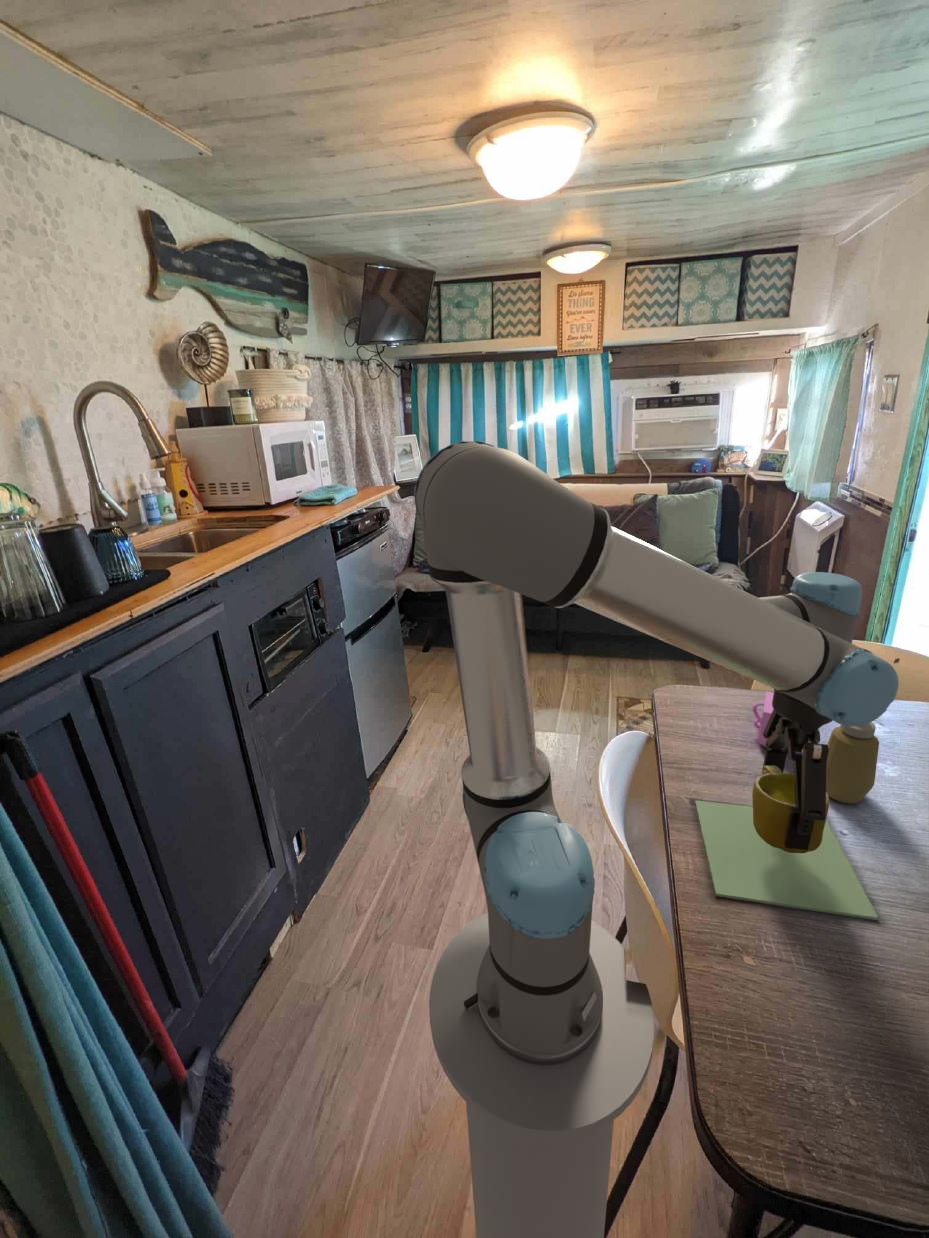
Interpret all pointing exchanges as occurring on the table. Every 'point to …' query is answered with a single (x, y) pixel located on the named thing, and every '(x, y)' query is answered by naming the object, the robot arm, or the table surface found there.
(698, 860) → the table surface
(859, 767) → the squeeze bottle
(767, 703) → the teapot
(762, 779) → the mug
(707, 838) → the mat
